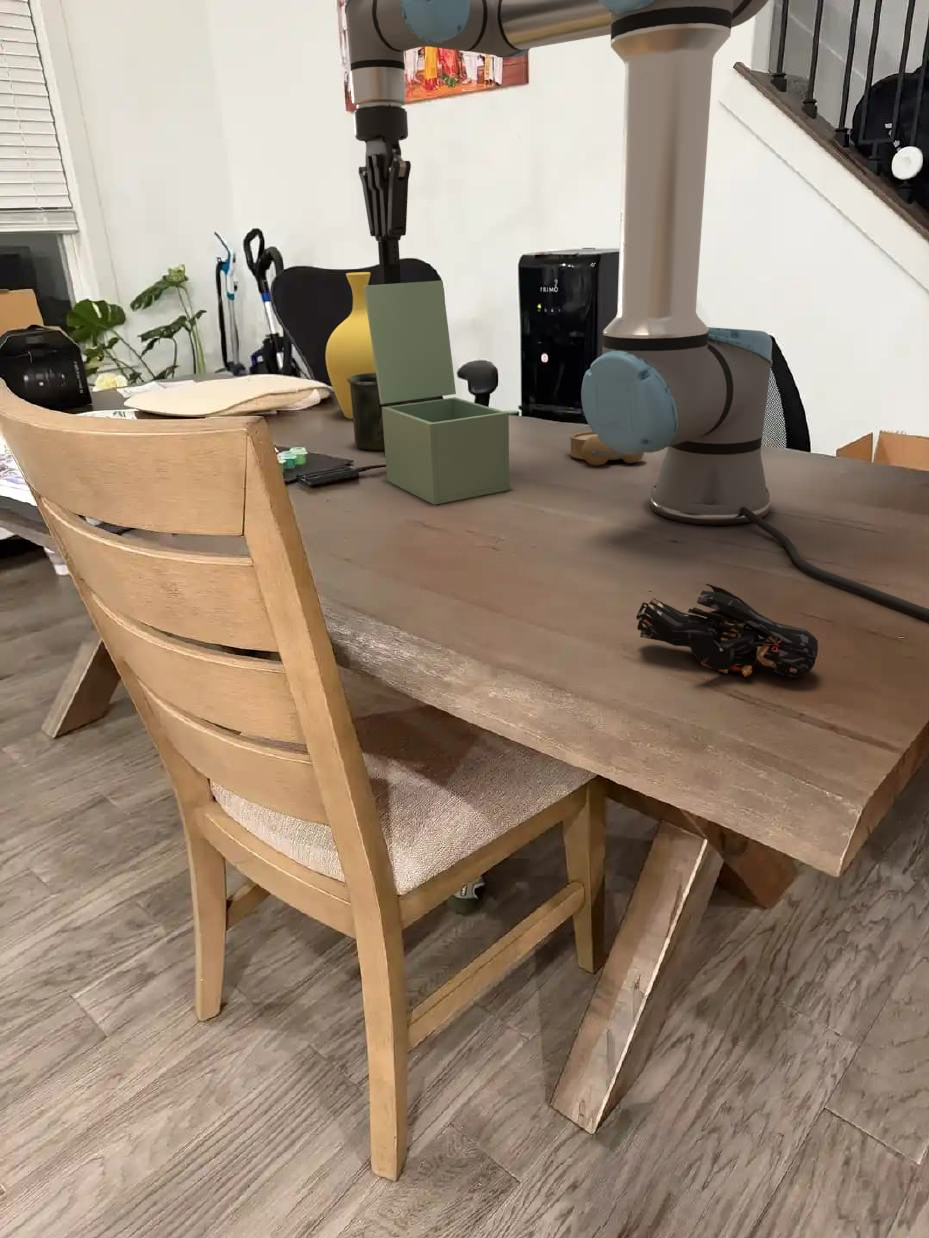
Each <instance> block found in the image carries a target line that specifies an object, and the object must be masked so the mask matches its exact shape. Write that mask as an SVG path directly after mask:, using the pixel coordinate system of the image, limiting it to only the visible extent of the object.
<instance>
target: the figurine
mask: <svg viewBox="0 0 929 1238" xmlns="http://www.w3.org/2000/svg"><path fill="white" fill-rule="evenodd" d="M705 585H706V586H708V587H710V588H711V590H712V591H709V590H702V591H701V592H700V594H699V595H698V598H697V601H696V604H698V605H700V606H703V607H707V608H710V609H713V610H710V611H709V610H704V609H701V608H698V607H692V608H689V609H688V610H687V612H683V611H681V610H679V609H676V608H675V607H673V606H671V605H669V604H667V603H665V602H663V601H661V600H660V599H658V598H656V597H652V599H651V600H650V602H648V603H647V602H642V603H641V606H640V608H639V610H638V612H637V615H636V616H635V618H636V620H637V621H638V623H637V627H636V629H637V631H640V634H639V635H640V638H644V639H648V640H654V641H659V642H664V643H667V644H669V645H672V646H674V647H687V648H690V651H691V653H692V654H693V655H694V658H695V659H697V660H698V662H699V663H700V664H701V666H704V667H706V668H709V669H711V670H714V671H718V672H722V673H725V674H728V673H729V672H731V673H735V674H739V675H743V676H744V677H748V676H750V675H751V674H752V673H753V671H754V667H755V664H756V660H758V662H759V663H760V664H761V665H763V666H766V667H771V668H773V669H774V670H773V672H774V673H777V674H779V675H781V676H787V677H790V678H791V677H793V678H798V677H802V676H804V675H807V674H809V672H811V671H812V670H813V668H814V666H815V664H816V659H817V658H818V653H819V641H818V639H817V638H816V637H815V635H813V634H812V633H811V632H809V631H808V630H807V629H804V628H800V627H796V626H791V625H787V624H782V623H780V622H777V621H773V620H771V619H770V618H768V617H766V616H764V615H762V614H761V613H759V612H757V610H755V609H754V608H753V607H752V606H750V605H749V604H748V603H747V602H745V601H744V600H743V599H742V598H740V597H739V596H737V595H736V594H734V593H733V592H731V591H728V590H726V589H724V588H722V587H719V586H715V585H712V584H710V583H705ZM759 647H760V648H759ZM758 648H759V650H758Z"/></svg>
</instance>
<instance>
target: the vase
mask: <svg viewBox="0 0 929 1238" xmlns="http://www.w3.org/2000/svg"><path fill="white" fill-rule="evenodd" d="M345 276H346V278H347V281H348V284H349V285H350V288H351V292H352V309H351V312H350V314H349V316H348V317H346V318H345V319H344V320H343V321H342V322H341V323H339V325H338V326H336V327H335V328H334V330H333V331H332V333H331V334H330V336H329V338H328V341H327V343H326V347H325V365H326V370H327V374H328V377H329V381H330V383H331V387H332V389H333V392H334V395H335V397H336V399H337V402H338V404H339V407H340V408H341V411H342V413H343V415H344V417H345V418H346V419H349V420H353V412H352V401H351V390H350V383H348V381H347V379H348V378H349V377H351V376H355V375H359V374H366V373H376V369H375V362H374V355H373V348H372V341H371V334H370V327H369V320H368V313H367V306H366V299H365V292H364V286H368V285H369V281H370V278H371V272H369V271H359V272H347V273H346V274H345Z"/></svg>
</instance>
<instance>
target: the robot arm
mask: <svg viewBox="0 0 929 1238" xmlns="http://www.w3.org/2000/svg"><path fill="white" fill-rule="evenodd" d="M768 2H769V0H345V4H344V14H345V22H346V33H347V44H348V45H347V46H348V57H349V66H350V71H349V76H350V91H351V101H352V102H351V103H352V105H354V106H355V107H356V109H354V112H353V125H354V138H355V139H356V140H357V141H359V142H364V143H365V152H364V153H365V154H364V155H365V156H364V159H365V161H364V163H365V164H364V166H358V171H357V172H358V176H359V179H360V182H361V185H362V191H363V192H362V193H363V197H364V204H365V210H366V218H367V223H368V229H369V235H370V236H371V237H374V238H375V241H376V242H377V250H378V264H379V265H378V266H379V278H380V280H379V281H380V285H383V284H398V283H402V278H401V260H400V259H401V258H400V244H399V243H400V242H399V241H401V240H402V236H403V237H404V236H406V234H407V219H408V197H409V196H408V195H409V180H410V179H409V178H410V173H411V170H412V169H411V168H412V164H411V161H410V160H404V159H403V158H402V149H401V144H400V141H404V140H406V139H407V138H408V136H409V126H408V124H409V123H408V111H406V108H404V107H403V106H404V105H405V104H406V103H407V92H406V89H407V88H408V82H407V81H406V75H405V73H406V71H405V70H406V65H405V52H406V51H407V52H408V51H410V50H413V49H418V48H423V47H425V48H426V47H427V48H437V49H443V50H452V51H458V52H471V53H476V54H483V55H489V56H490V55H491V56H494V57H497V58H501V59H503V58H520V57H523V56H525V55H526V54H527V53H528V52H529V51H530V50H531V49H533V48H540V47H546V46H551V45H557V44H562V43H563V44H564V43H569V42H574V41H580V40H586V39H593V38H599V37H604V36H609V35H610V48H611V49H612V50H613V51H614V52H615V54H616V55H617V56H618V57H619V58H620V60H622V62H623V64H624V89H623V90H624V92H623V93H624V95H623V123H622V124H623V126H622V127H623V129H622V157H621V188H620V189H621V190H620V217H619V218H620V219H619V247H618V249H619V251H618V277H617V278H618V280H617V281H618V283H617V285H618V286H617V312H616V316H615V317H614V318H613V319H612V320H611V322H609V324H608V325H607V326H606V327H605V328H604V329H603V330H602V354H601V355H600V356H599V357H596V359H594V361H593V362H591V364H590V367H589V369H587V370H586V371H585V372H584V376H583V379H582V384H581V389H580V401H581V406H582V411H583V415H584V416H585V420H586V422H587V424H588V426H589V428H590V429H591V432H593V431H594V432H596V434H597V435H598V438H599V439H600V441H601V442H602V443H604V444H605V445H606V446H608V447H609V448H611V449H613V450H615V451H617V452H620V453H624V454H640V453H644V454H645V453H647V454H652V453H656V452H660V451H662V450H664V449H667V450H666V453H665V456H664V459H663V461H662V464H661V468H660V470H659V473H658V477H657V481H656V482H655V483H654V484H653V486H652V488H651V494H650V504H649V506H650V508H651V510H652V511H653V512H654V513H656V514H657V515H659V516H661V517H663V518H666V519H670V520H673V521H677V522H682V523H687V524H695V525H705V526H729V525H740V524H747V523H751V522H752V523H753V524H755V525H757V526H758V527H759V528H761V529H762V530H763V531H765V532H766V533H768V534H769V535H770V536H772V537H773V538H774V539H776V540H777V541H778V542H780V543H781V544H782V545H783V546H784V547H785V549H786V550H787V552H788V554H789V557H790V559H791V560H792V561H793V563H794V564H795V565H796V566H798V567H799V568H800V569H801V570H803V571H804V572H806V573H807V574H810V575H812V576H814V577H816V578H818V579H821V580H823V581H825V582H829V583H831V584H834V585H836V586H840V587H843V588H845V589H848V590H851V591H853V592H856V593H859V594H860V595H864V596H866V597H869V598H871V599H874V600H876V601H879V602H882V603H884V604H886V605H889V606H892V607H895V608H897V609H900V610H903V611H906V612H907V613H911V614H913V615H916V616H918V617H921V618H924V619H926V620H929V608H927V607H924V606H922V605H919V604H917V603H913V602H911V601H908V600H905V599H902V598H900V597H899V596H895V595H892V594H889V593H887V592H884V591H881V590H879V589H876V588H874V587H871V586H868V585H866V584H863V583H860V582H858V581H855V580H853V579H849V578H846V577H844V576H841V575H838V574H835V573H832V572H829V571H826V570H824V569H822V568H820V567H817V566H815V565H813V564H811V563H810V562H808V561H807V560H805V559H804V558H803V557H802V556H801V555H800V553H799V551H798V549H797V547H796V545H795V544H794V543H793V542H792V541H791V539H790V538H789V537H788V536H786V535H785V534H784V533H783V532H781V531H780V530H779V529H777V528H776V527H774V526H773V525H771V524H770V523H769V522H768V521H765V520H764V519H763V518H765V517H766V516H767V515H768V514H769V511H770V504H771V503H770V501H771V500H770V498H771V497H770V492H769V488H768V487H767V484H766V477H765V470H764V464H763V460H762V454H761V453H762V440H763V433H764V425H765V417H766V410H767V409H766V408H767V402H768V392H769V385H770V376H771V369H772V367H773V359H772V353H773V352H772V351H773V341H772V337H771V335H770V334H769V333H768V332H765V330H756V329H742V328H741V329H740V328H727V327H710V326H707V324H705V322H704V321H703V320H702V319H701V318H700V317H699V315H698V313H697V301H698V286H699V274H700V273H699V271H700V255H701V243H702V241H701V240H702V229H703V227H702V226H703V214H704V213H703V212H704V197H705V184H706V167H707V152H708V139H709V122H710V110H711V93H712V82H713V81H712V80H713V68H714V67H713V66H714V57H715V55H716V53H717V52H718V51H720V50H721V48H722V46H724V44H725V43H727V41H728V40H729V38H731V33H732V29H733V28H735V27H737V26H741V25H742V24H744V23H746V22H748V21H749V20H751V19H752V18H754V17H755V16H756V15H757V14H758V13H759V12H760V11H761V10H762V9H763V8H764V7H765V6H766V5H767V4H768Z"/></svg>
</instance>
